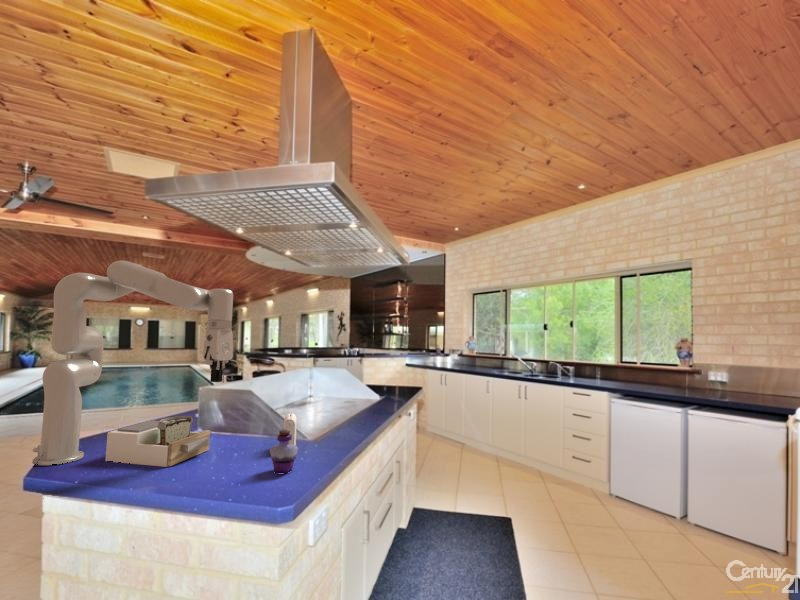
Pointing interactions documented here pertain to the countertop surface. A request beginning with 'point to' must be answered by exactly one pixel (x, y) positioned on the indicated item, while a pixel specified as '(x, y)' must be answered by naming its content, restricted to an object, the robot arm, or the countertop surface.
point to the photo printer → (291, 426)
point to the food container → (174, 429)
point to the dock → (138, 445)
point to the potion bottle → (283, 453)
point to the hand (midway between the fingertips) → (216, 381)
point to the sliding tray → (184, 456)
